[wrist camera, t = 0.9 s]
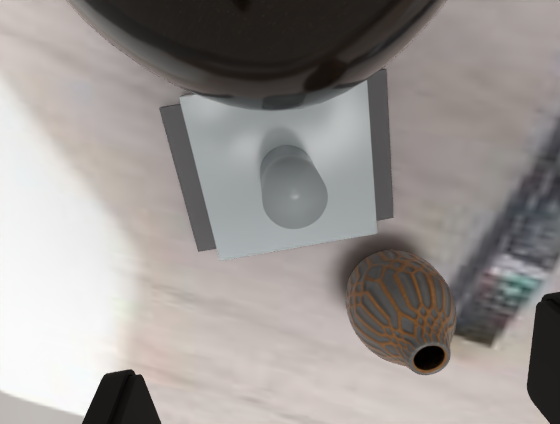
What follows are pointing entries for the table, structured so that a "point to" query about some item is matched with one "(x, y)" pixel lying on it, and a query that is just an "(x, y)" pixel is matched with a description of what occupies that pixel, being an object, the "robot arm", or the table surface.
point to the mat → (191, 181)
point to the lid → (284, 172)
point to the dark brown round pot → (261, 44)
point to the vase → (402, 310)
